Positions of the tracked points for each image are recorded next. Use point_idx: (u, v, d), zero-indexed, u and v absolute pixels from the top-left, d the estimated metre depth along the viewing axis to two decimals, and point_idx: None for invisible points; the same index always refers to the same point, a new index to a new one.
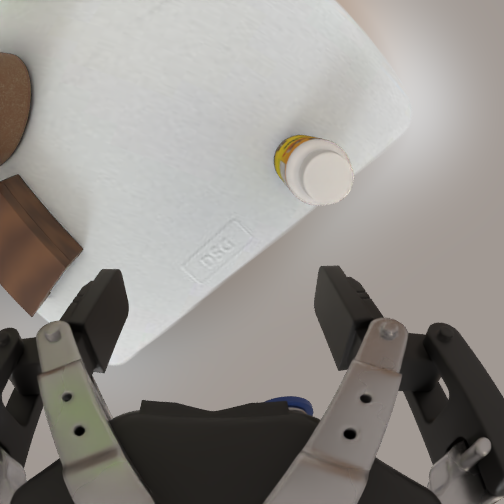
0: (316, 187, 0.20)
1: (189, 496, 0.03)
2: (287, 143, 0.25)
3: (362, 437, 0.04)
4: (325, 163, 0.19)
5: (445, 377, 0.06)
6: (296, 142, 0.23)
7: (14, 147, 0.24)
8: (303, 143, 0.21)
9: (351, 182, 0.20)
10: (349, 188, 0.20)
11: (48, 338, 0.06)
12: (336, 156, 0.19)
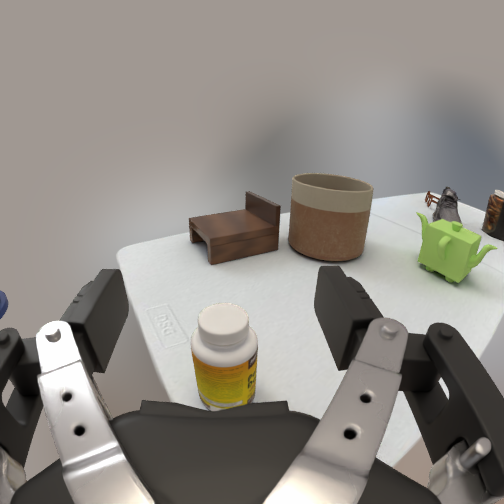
0: (218, 308, 0.23)
1: (188, 495, 0.03)
2: None
3: (362, 437, 0.04)
4: (238, 316, 0.22)
5: (445, 377, 0.06)
6: None
7: (296, 247, 0.55)
8: None
9: (214, 331, 0.20)
10: (208, 329, 0.20)
11: (48, 338, 0.06)
12: (243, 323, 0.21)
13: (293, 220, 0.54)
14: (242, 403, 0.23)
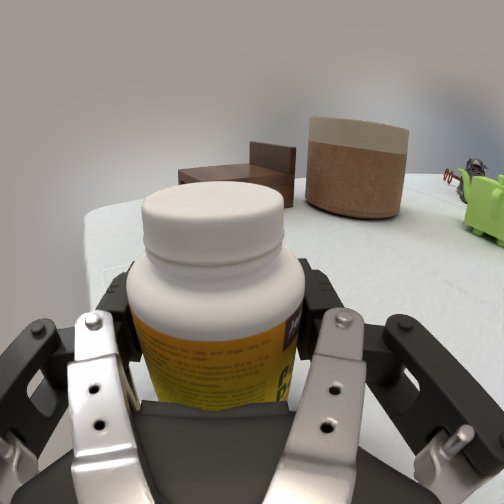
0: (200, 186, 0.09)
1: (189, 495, 0.03)
2: None
3: (340, 429, 0.04)
4: (254, 193, 0.08)
5: (412, 369, 0.06)
6: None
7: (317, 202, 0.41)
8: None
9: (180, 213, 0.06)
10: (163, 211, 0.06)
11: (89, 326, 0.07)
12: (271, 201, 0.07)
13: (313, 167, 0.40)
14: None
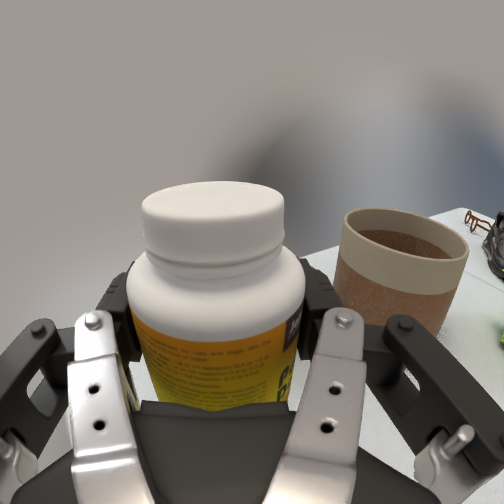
0: (200, 186, 0.09)
1: (188, 495, 0.03)
2: None
3: (340, 429, 0.04)
4: (255, 193, 0.08)
5: (413, 369, 0.06)
6: None
7: None
8: None
9: (180, 214, 0.06)
10: (163, 211, 0.06)
11: (89, 326, 0.07)
12: (271, 201, 0.07)
13: (344, 297, 0.31)
14: None
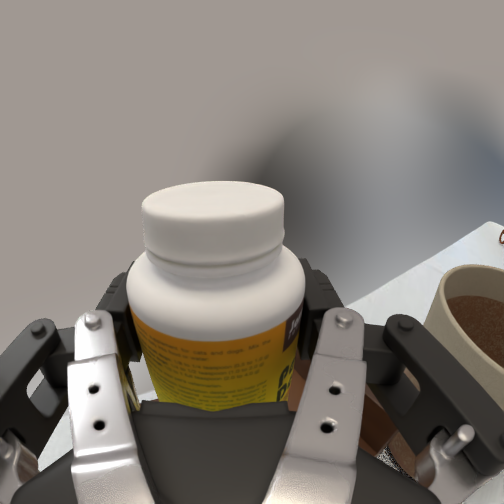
0: (200, 186, 0.09)
1: (188, 495, 0.03)
2: None
3: (340, 429, 0.04)
4: (255, 192, 0.08)
5: (413, 369, 0.06)
6: None
7: (409, 471, 0.15)
8: None
9: (180, 213, 0.06)
10: (164, 211, 0.06)
11: (89, 326, 0.07)
12: (271, 201, 0.07)
13: None
14: None
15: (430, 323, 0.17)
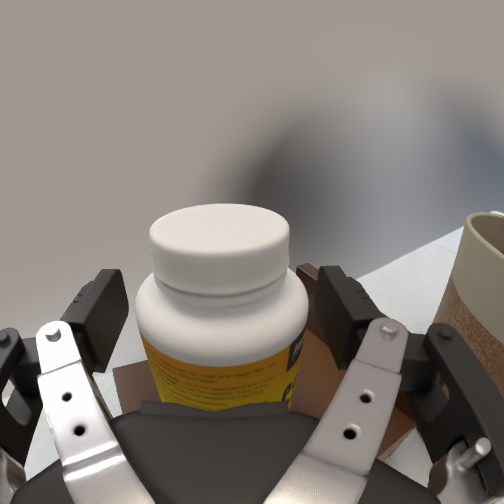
0: (206, 210, 0.09)
1: (189, 495, 0.03)
2: None
3: (362, 437, 0.04)
4: (260, 220, 0.08)
5: (445, 377, 0.06)
6: None
7: None
8: None
9: (189, 246, 0.07)
10: (172, 243, 0.07)
11: (48, 338, 0.06)
12: (277, 231, 0.07)
13: None
14: None
15: (462, 262, 0.14)
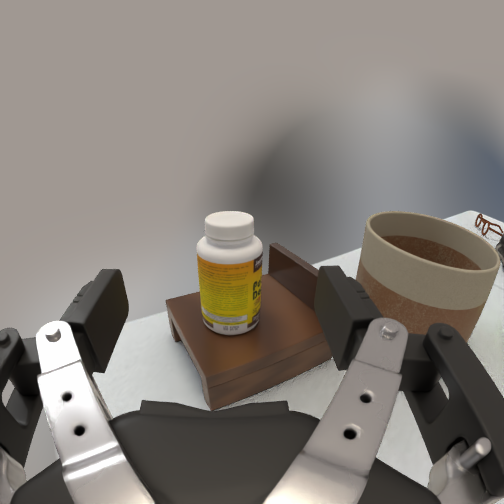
0: (224, 213, 0.24)
1: (189, 496, 0.03)
2: None
3: (362, 437, 0.04)
4: (243, 217, 0.23)
5: (445, 377, 0.06)
6: None
7: None
8: None
9: (220, 225, 0.22)
10: (215, 224, 0.22)
11: (48, 338, 0.06)
12: (248, 220, 0.23)
13: None
14: (247, 319, 0.25)
15: (363, 240, 0.29)
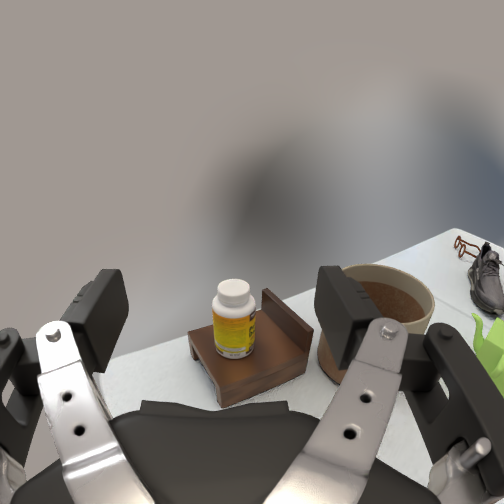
0: (230, 282, 0.36)
1: (188, 495, 0.03)
2: None
3: (362, 437, 0.04)
4: (243, 286, 0.35)
5: (445, 377, 0.06)
6: None
7: (329, 373, 0.39)
8: None
9: (228, 294, 0.34)
10: (224, 293, 0.34)
11: (48, 338, 0.06)
12: (246, 290, 0.35)
13: None
14: (245, 349, 0.37)
15: None
